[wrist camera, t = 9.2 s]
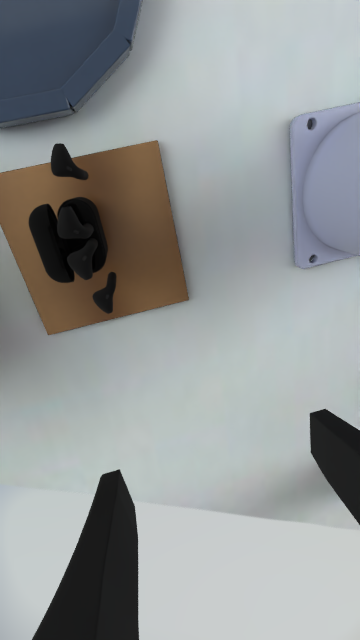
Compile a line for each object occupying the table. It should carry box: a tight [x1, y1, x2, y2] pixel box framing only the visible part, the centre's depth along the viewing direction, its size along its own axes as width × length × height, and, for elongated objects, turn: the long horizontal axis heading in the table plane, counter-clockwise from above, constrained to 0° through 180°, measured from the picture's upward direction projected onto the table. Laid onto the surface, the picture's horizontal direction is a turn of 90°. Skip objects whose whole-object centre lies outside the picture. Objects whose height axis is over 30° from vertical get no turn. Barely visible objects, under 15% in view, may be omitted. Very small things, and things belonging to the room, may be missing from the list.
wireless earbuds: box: [29, 144, 117, 314], centre depth 13 cm, size 7×2×5 cm, turn 10°
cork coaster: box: [0, 140, 189, 335], centre depth 16 cm, size 8×8×1 cm
